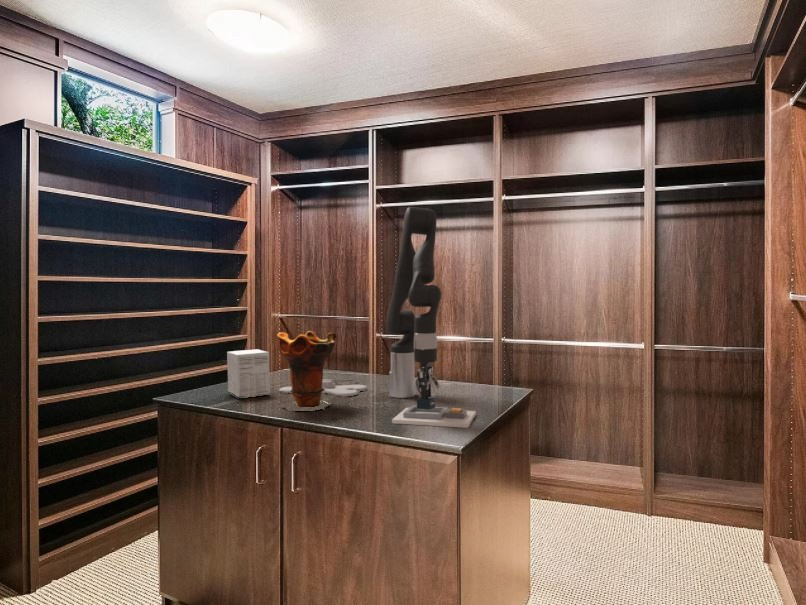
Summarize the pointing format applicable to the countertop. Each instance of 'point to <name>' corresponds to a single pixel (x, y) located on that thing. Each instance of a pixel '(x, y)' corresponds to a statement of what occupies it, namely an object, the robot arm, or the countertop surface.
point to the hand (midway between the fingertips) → (426, 399)
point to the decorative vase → (306, 365)
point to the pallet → (434, 417)
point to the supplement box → (248, 372)
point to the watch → (430, 401)
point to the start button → (456, 410)
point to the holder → (335, 388)
